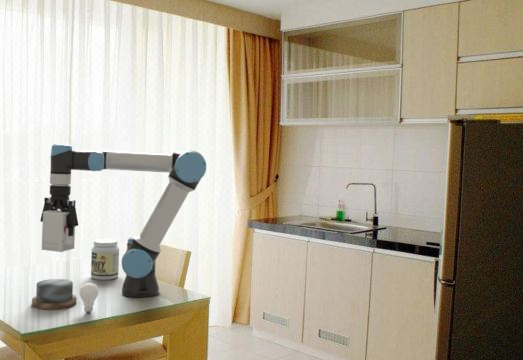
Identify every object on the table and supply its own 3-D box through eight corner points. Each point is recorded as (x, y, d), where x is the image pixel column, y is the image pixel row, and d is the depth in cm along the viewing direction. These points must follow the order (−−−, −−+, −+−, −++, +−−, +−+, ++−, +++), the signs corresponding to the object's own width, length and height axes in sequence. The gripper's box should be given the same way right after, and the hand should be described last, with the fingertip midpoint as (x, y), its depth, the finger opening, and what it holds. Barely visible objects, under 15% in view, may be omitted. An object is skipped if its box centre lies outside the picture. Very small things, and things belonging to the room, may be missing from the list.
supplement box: (61, 252, 215) (63, 213, 214) (40, 250, 218) (42, 211, 217) (75, 248, 224) (76, 210, 223) (55, 246, 226) (56, 208, 225)
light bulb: (99, 310, 213) (100, 281, 212) (95, 315, 206) (95, 285, 206) (81, 309, 213) (82, 280, 212) (76, 315, 206) (77, 285, 205)
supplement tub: (85, 278, 258) (86, 241, 257) (101, 273, 270) (101, 237, 269) (108, 281, 255) (109, 244, 253) (123, 276, 266) (124, 240, 265)
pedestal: (85, 301, 223) (85, 281, 222) (55, 312, 208) (55, 290, 208) (53, 295, 229) (54, 276, 229) (22, 305, 214) (22, 284, 214)
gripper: (89, 186, 218) (87, 244, 219) (46, 181, 227) (44, 237, 229) (75, 187, 211) (73, 247, 212) (31, 182, 221) (29, 240, 222)
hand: (58, 242), depth 221 cm, fingers closed on supplement box, 10 cm apart
